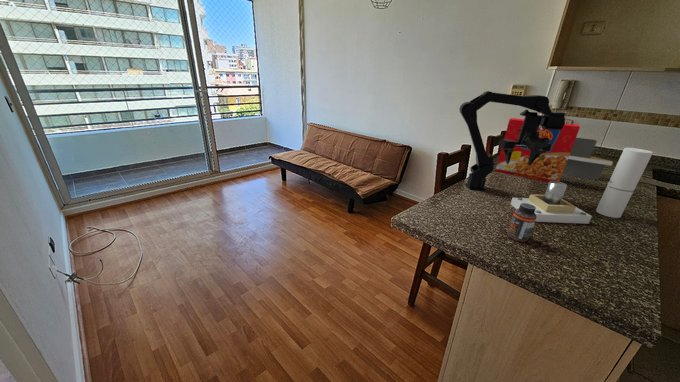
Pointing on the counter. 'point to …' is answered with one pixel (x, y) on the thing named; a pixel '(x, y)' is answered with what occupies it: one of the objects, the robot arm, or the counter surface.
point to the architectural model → (584, 160)
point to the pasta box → (546, 163)
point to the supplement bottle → (522, 222)
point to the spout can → (554, 192)
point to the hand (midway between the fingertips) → (518, 164)
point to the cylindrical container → (623, 181)
